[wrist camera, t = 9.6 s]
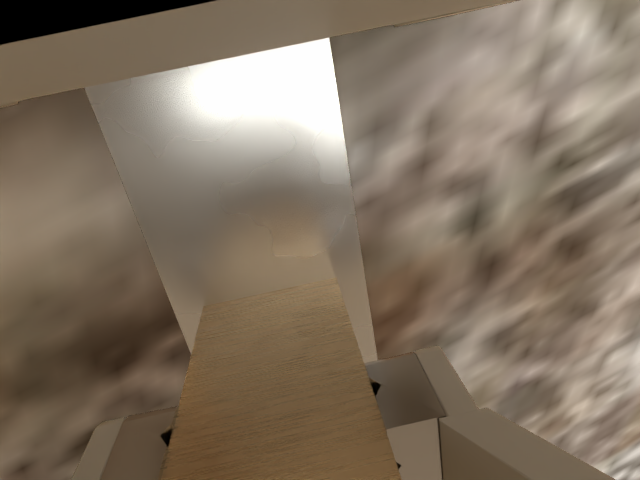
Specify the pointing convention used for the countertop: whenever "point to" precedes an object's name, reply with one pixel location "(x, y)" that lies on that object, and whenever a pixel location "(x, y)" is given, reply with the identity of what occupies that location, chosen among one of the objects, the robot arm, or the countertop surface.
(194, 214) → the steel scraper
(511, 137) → the countertop surface
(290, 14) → the notched cream block
